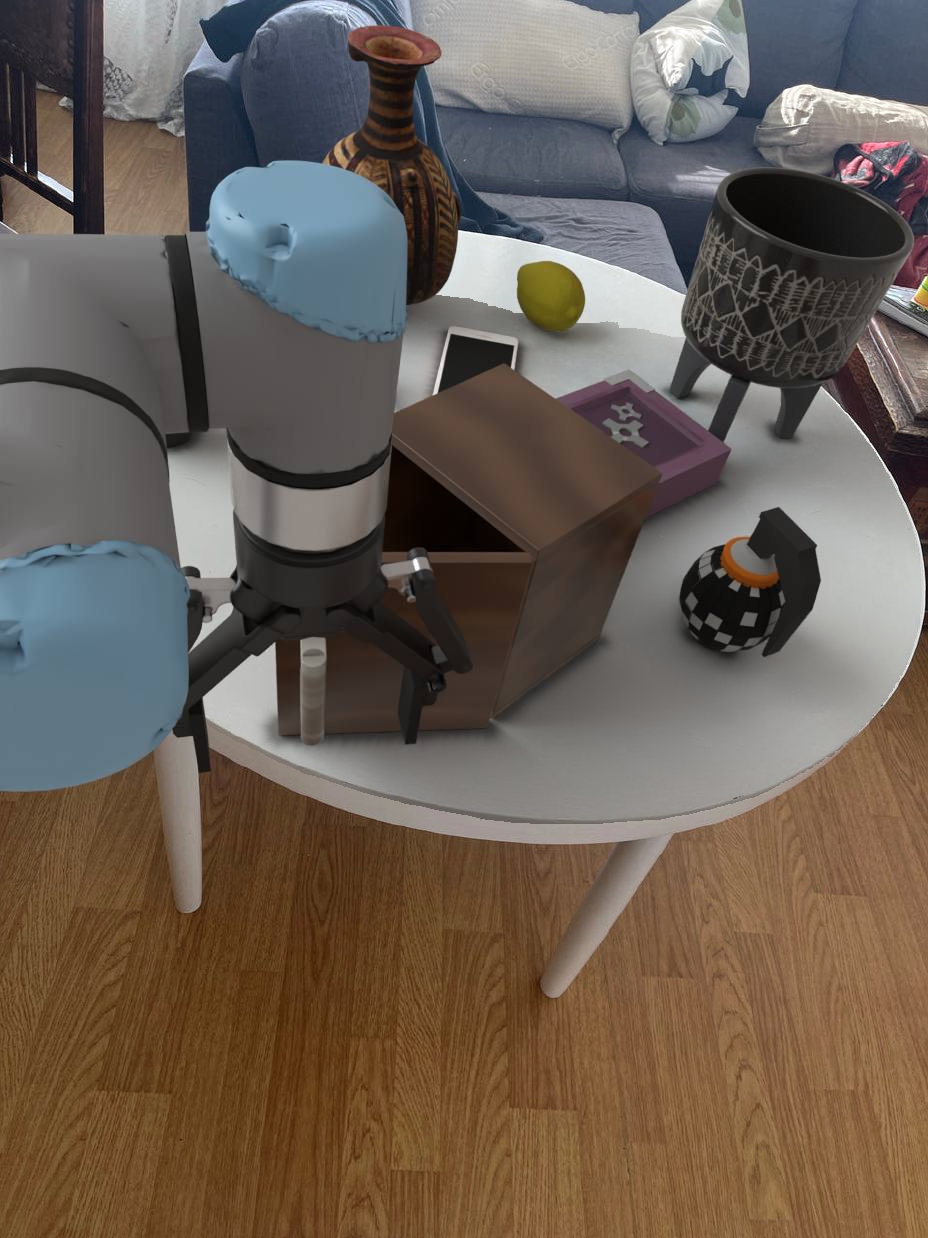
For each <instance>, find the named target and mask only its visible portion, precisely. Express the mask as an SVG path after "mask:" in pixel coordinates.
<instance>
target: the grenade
mask: <svg viewBox="0 0 928 1238" xmlns="http://www.w3.org/2000/svg"><path fill="white" fill-rule="evenodd" d="M758 518H759V520H758V522H757V524H756V526H755V528H754V530H753V531H752V533H751V535H750V536H737V537H734V538H731V539H729V540H728V541H726V543H724V544H720V545H716V546H713V547H711V548H709V549H708V550H706V551H704V552H703V553H702V554H701V555H700V556H699V557H698V558H697V559H695V560H694V562H693V563H692V565H691V566H690V567H689V569H688V570H687V572H686V573H685V575H684V577H683V579H682V582H681V585H680V589H679V595H678V604H679V612H680V616H681V620H682V621H683V623H684V625H685V626H686V628H687V630H688V631H689V633H690V635H691V636H692V637H693V638H694V640H695V641H696V642H697V643H698V644H699V645H700V646H703V647H704V648H706V649H708V650H710V651H713V652H717V653H725V652H726V653H733V652H741V651H742V652H743V651H747V650H748V651H749V650H751V649H753V648H755V647H757V646H759V645H762V643H764V642H766V641H767V642H766V643H765V646H764V648H763V650H762V652H761V656H762V657H763V658H766V657H769V656H772V655H775V654H777V653H780V652H781V650H782V649H783V648H784V647H785V645H786V644H787V642H788V641H789V640H790V639H791V637H792V636H793V635H794V634H795V632H796V631H797V630H798V629H799V627H800V626H801V625H802V624H803V622H804V621H805V620H806V619H807V617H808V616H809V615H810V614H811V612H812V611H813V609H814V606H815V603H816V599H817V596H818V592H819V589H820V586H821V584H822V583H821V582H822V579H821V572H820V567H819V562H818V561H819V560H818V555H817V547H818V546H819V545H818V544H817V543H816V542H815V541H814V540H813V539H812V538H811V537H810V536H809V535H808V534H807V533H806V532H805V531H804V530H803V529H802V528H801V527H800V526H799V525H798V524H797V522H795V521H794V520H793V519H792V517H790V516H789V515H788V514H787V513H786V512H785V511H784V510H783V509H782V508H781V507H780V506H777V507H773V508H769V509H766V510H764V511H760V513H759V515H758Z"/></svg>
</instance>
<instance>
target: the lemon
mask: <svg viewBox="0 0 928 1238" xmlns="http://www.w3.org/2000/svg"><path fill="white" fill-rule="evenodd" d="M516 275H517V277H516V281H517V286H516V299H517V302H518V305H519V308H520V311H522V313H523V314H524V316H525V317H526V319H527V320H528V321H529V322H530V323H531V324H532V325H534V326H536V327H537V328H539V329H542V330H545V331H548V332H556V333H558V332H559V333H561V332H565V331H568V330H570V329H572V328H573V327H574V326H575V325H576V324H577V323H578V321H579V320H580V319H581V317H582V315H583V313H584V309H585V306H586V294H585V289H584V286H583V283H582V282H581V279H580V278H579V277H578V275H577V274H576V273H575V272H574V271H573V270H571V269H570V268H569V267H567V266H565V265H563V264H561V263H559V262H555V261H551V260H540V261H534V262H529V263H525V264H523V265H521V266H520V267H519V269H518V271H517V274H516Z"/></svg>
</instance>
